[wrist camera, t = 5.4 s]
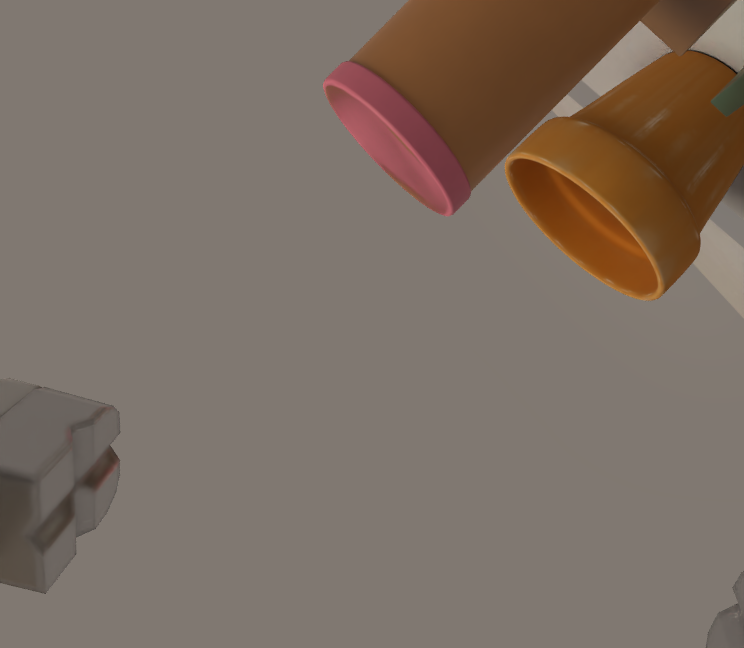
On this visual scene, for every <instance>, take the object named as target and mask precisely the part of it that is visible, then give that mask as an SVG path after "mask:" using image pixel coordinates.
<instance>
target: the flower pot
mask: <svg viewBox="0 0 744 648" xmlns="http://www.w3.org/2000/svg"><path fill="white" fill-rule="evenodd" d="M736 75H737V74H736V73H735V72H734V71H732V70H731V69H730V68H728V67H727V66H726V65H724V64H722V63H721V62H719V61H717V60H716V59H714V58H712V57H709V56H707V55H705V54H702V53H698V52H694V51H686V52H685V53H684V54H683V55H682V56H678V55H677V54H676V53H675V52H671V53H669V54H666V55H664V56H662V57H661V58H659V59H658V60H656V61H654V62H653V63H651V64H650V65H648V66H647V67H645V68H643V69H642V70H640V71H639V72H637V73H636V74H634V75H633V76H631V77H630V78H628V79H626V80H625V81H623V82H622V83H620V84H619V85H617V86H616V87H614V88H613V89H612V90H610V91H609V92H607V93H606V94H604V95H603V96H601V97H600V98H598V99H597V100H595V101H594V102H592V103H591V104H589V105H588V106H586V107H585V108H583V109H582V110H580V111H578V112H577V113H575V114H574V115H572V116H571V117H556V118H553V119H550V120H548V121H547V122H545V123H544V124H542V125H541V126H540V127H539V128H538V129H537V130H535V131H534V133H532V134H531V135H530V136H529V137H528V138H527V139H526V140H525V141H524V142H523V143H522V144H521V145H520V146H519V147H517V148H516V149H515V150H514V151H513V152H512V153H511V154H510V155H509V156H508V158H507V160H506V163H505V173H506V178H507V181H508V183H509V186H510V188H511V190H512V192H513V194H514V195H515V197H516V199H517V200H518V202H519V203H520V205H521V206H522V208H523V209H524V211H525V212H526V213H527V214H528V216H529V217H530V218H531V220H532V221H533V222H534V223H535V224H536V225H537V227H538V228H539V229H540V230H541V231H542V232H543V233H544V234H545V235H546V236H547V237H548V238H549V239H550V240H551V241H552V242H553V243H554V244H555V245H556V246H557V247H558V248H559V249H560V250H561V251H562V252H563V253H565V254H566V255H567V256H568V257H569V258H570V259H571V260H573V261H574V262H575V263H576V264H578V265H579V266H580V267H581V268H583V269H584V270H585V271H587V272H588V273H590V274H591V275H593V276H594V277H595V278H597V279H598V280H600V281H602V282H603V283H604V284H606V285H608V286H610V287H611V288H613V289H615V290H617V291H619V292H621V293H623V294H625V295H627V296H630V297H633V298H636V299H639V300H646V301H650V300H655V299H658V298H660V297H661V296H662V295H663V294H664V293H665V292H666V291H667V290H668V289H669V288H670V287H671V286H672V285H673V284H674V283H675V282H676V281H677V279H678V278H679V277H680V276H681V275H682V274H683V273H684V272H685V271H686V270H687V268H688V267H689V266H690V265H691V264H692V263H693V261H694V260H695V259H696V257H697V256H698V253H699V251H700V244H701V240H700V233H701V231H702V229H703V228H704V226H705V224H706V223H707V221H708V220H709V218H710V216H711V215H712V213H713V212H714V210H715V209H716V207H717V206H718V204H719V203H720V201H721V200H722V198H723V197H724V195H725V194H726V192H727V190H728V189H729V187H730V186H731V184H732V183H733V181H734V179H735V178H736V176H737V175H738V173H739V171H740V170H741V168H742V166H743V165H744V105H743V106H741V107H740V108H739V109H737V110H736V111H734V112H733V113H732V114H730V115H729V116H727V117H726V116H725V115H724V114H723V113H721V112H720V111H719V110H718V109H717V108H716V107H715V106H714V105H713V104H712V103H711V100H712V99H713V98H714V97H715V96H716V95H717V94H718V93H719V92H720V91H721V90H722V89H723V88H724V87H725V86H726V85H727V84H728V83H729V82H730V81H731V80H732V79H733V78H734V77H735V76H736Z"/></svg>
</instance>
